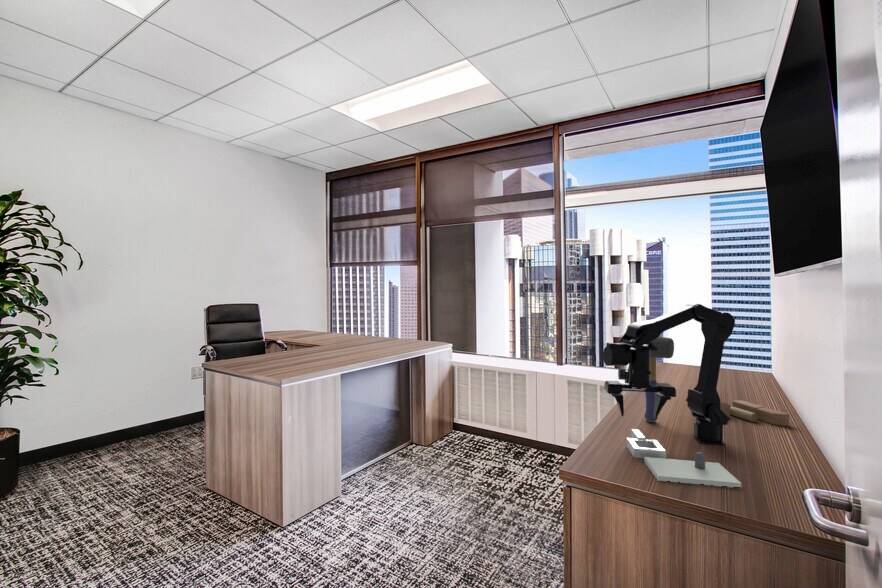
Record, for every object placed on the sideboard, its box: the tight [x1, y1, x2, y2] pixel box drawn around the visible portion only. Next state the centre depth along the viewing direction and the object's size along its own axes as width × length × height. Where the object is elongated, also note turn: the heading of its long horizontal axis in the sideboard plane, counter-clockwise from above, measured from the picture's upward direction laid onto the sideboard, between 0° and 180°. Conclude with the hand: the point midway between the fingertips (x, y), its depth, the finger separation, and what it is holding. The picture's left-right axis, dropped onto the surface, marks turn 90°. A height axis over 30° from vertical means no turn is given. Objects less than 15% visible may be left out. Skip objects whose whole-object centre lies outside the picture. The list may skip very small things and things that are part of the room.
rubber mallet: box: [631, 336, 675, 423], centre depth 141 cm, size 12×8×30 cm, turn 46°
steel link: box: [626, 428, 667, 459], centre depth 118 cm, size 14×8×3 cm, turn 169°
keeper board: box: [643, 451, 742, 488], centre depth 102 cm, size 18×11×5 cm, turn 79°
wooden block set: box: [720, 399, 790, 427], centre depth 144 cm, size 17×6×18 cm
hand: (638, 417), depth 122 cm, fingers open, 9 cm apart
